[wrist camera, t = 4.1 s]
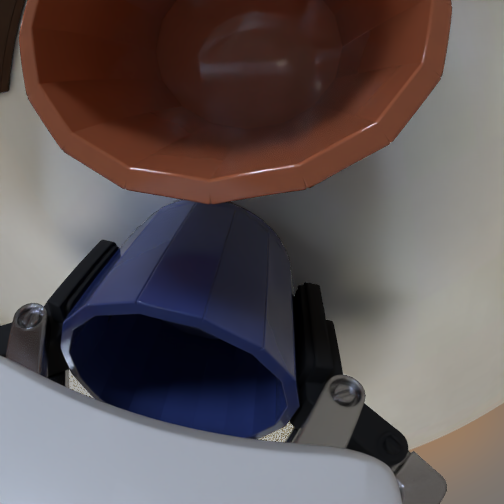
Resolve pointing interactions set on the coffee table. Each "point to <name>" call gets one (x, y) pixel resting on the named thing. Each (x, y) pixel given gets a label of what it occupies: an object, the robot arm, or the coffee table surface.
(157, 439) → the robot arm
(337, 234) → the coffee table surface
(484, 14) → the coffee table surface
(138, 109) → the tea cup
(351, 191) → the coffee table surface
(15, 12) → the tray
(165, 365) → the blue faceted cup
